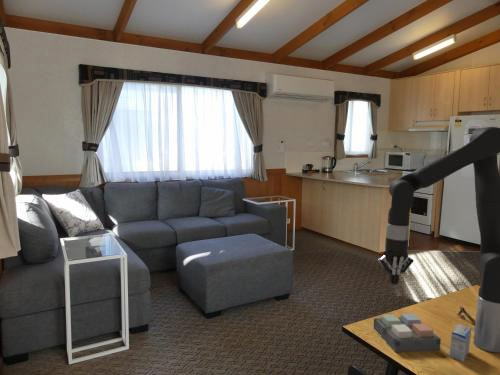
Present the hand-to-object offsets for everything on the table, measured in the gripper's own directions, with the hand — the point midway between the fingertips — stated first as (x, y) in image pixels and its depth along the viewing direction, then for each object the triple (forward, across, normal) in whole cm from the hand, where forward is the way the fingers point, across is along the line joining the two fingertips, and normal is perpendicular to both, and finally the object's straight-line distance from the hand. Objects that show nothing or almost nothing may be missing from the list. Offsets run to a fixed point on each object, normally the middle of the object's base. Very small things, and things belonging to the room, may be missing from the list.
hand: (393, 283), depth 138 cm
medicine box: (+19, -17, +15) cm, 29 cm away
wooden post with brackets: (+19, -36, -7) cm, 41 cm away
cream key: (+15, 0, +8) cm, 17 cm away
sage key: (+15, 0, 0) cm, 15 cm away
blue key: (+15, -8, 0) cm, 17 cm away
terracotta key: (+15, -8, +8) cm, 19 cm away
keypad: (+19, -4, +4) cm, 20 cm away
